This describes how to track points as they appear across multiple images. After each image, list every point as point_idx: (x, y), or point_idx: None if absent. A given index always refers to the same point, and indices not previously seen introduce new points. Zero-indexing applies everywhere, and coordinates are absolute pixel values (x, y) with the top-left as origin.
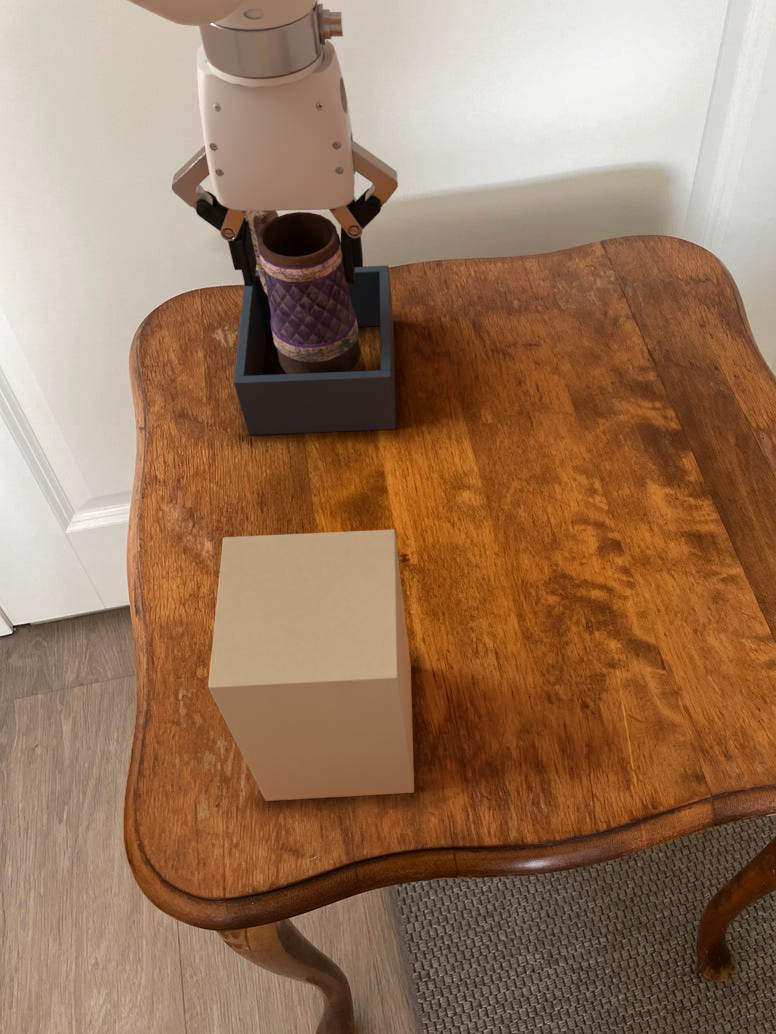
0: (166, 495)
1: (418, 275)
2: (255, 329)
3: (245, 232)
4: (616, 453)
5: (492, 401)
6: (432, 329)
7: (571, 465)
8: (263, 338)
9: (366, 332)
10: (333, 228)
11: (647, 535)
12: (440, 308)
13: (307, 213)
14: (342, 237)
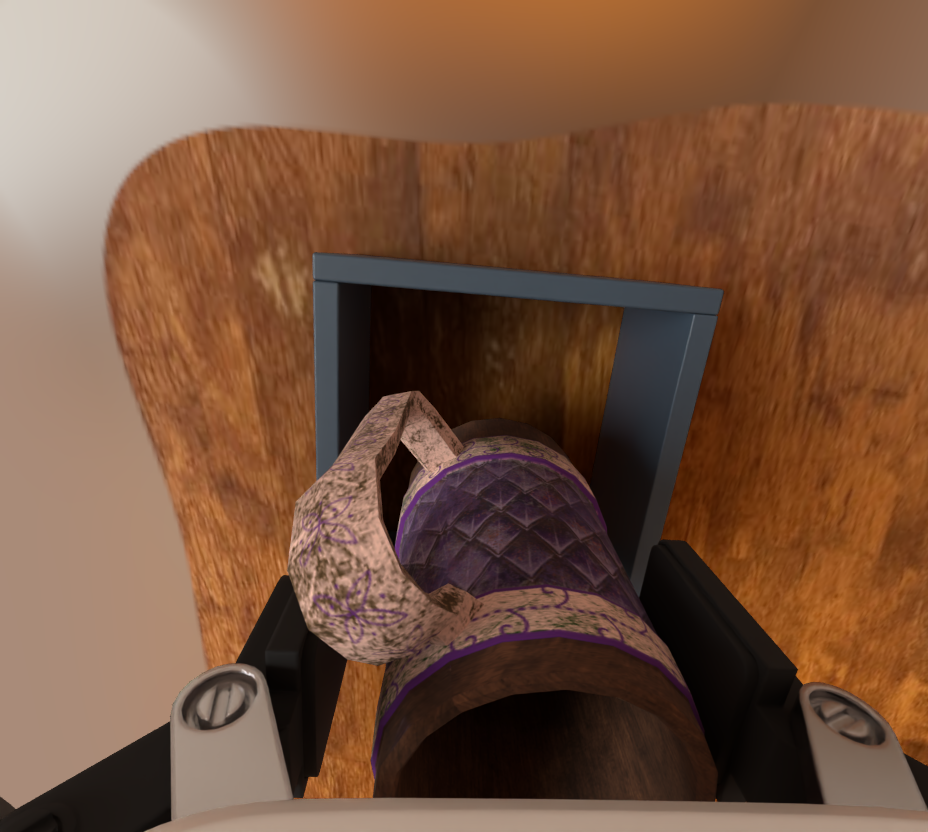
0: (234, 631)
1: (745, 116)
2: (352, 401)
3: (310, 732)
4: (896, 629)
5: (762, 516)
6: (719, 321)
7: (824, 641)
8: (367, 329)
9: (583, 311)
10: (707, 795)
11: None
12: (756, 254)
13: (610, 691)
14: (719, 776)
